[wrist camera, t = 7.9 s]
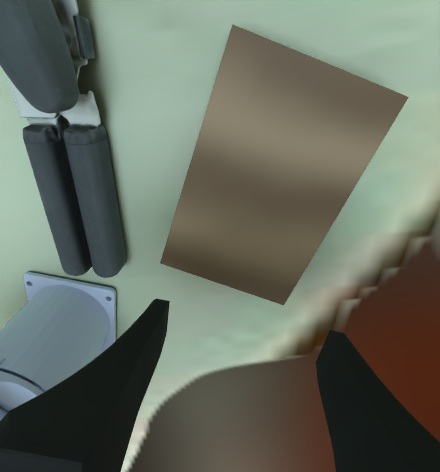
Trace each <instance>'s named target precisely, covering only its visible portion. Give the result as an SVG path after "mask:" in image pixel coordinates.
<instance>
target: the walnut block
mask: <svg viewBox="0 0 440 472" xmlns="http://www.w3.org/2000/svg"><path fill="white" fill-rule="evenodd" d="M407 99H408V97H407V96H405V95H402V94H400V93H397V92H395V91H393V90H390V89H388V88H385V87H383V86H380V85H378V84H376V83H373V82H371V81H368V80H366V79H363V78H361V77H359V76H356V75H354V74H351V73H349V72H346V71H344V70H342V69H339V68H337V67H334V66H332V65H329V64H327V63H325V62H322V61H320V60H317V59H315V58H312V57H310V56H307V55H305V54H303V53H300V52H298V51H295V50H293V49H290V48H288V47H286V46H283V45H281V44H278V43H276V42H273V41H271V40H269V39H266V38H264V37H261V36H259V35H256V34H254V33H252V32H249V31H247V30H244V29H242V28H239V27H237V26H235V25H232V28H231V31H230V34H229V38H228V41H227V44H226V48H225V51H224V54H223V58H222V61H221V64H220V67H219V71H218V74H217V77H216V81H215V84H214V87H213V90H212V94H211V97H210V100H209V104H208V107H207V110H206V114H205V117H204V120H203V123H202V127H201V130H200V133H199V137H198V140H197V143H196V147H195V150H194V153H193V156H192V160H191V163H190V166H189V170H188V173H187V176H186V180H185V183H184V186H183V189H182V193H181V196H180V199H179V203H178V206H177V209H176V213H175V216H174V219H173V222H172V226H171V229H170V232H169V236H168V239H167V242H166V245H165V249H164V252H163V255H162V259H161V262H160V263H161V264H164V265H167V266H170V267H173V268H176V269H179V270H182V271H185V272H188V273H191V274H194V275H197V276H199V277H202V278H205V279H208V280H211V281H214V282H217V283H220V284H223V285H226V286H229V287H232V288H235V289H238V290H241V291H243V292H246V293H249V294H252V295H255V296H258V297H261V298H264V299H267V300H270V301H273V302H276V303H279V304H282V305H284V304H285V302H286V301H287V299H288V297H289V296H290V294H291V292H292V291H293V289H294V287H295V286H296V284H297V282H298V281H299V279H300V277H301V276H302V274H303V272H304V271H305V269H306V267H307V266H308V264H309V262H310V261H311V259H312V257H313V256H314V254H315V252H316V251H317V249H318V247H319V246H320V244H321V242H322V241H323V239H324V237H325V236H326V234H327V232H328V231H329V229H330V227H331V226H332V224H333V222H334V221H335V219H336V217H337V216H338V214H339V212H340V211H341V209H342V207H343V206H344V204H345V202H346V201H347V199H348V197H349V196H350V194H351V192H352V191H353V189H354V187H355V186H356V184H357V182H358V181H359V179H360V177H361V176H362V174H363V172H364V171H365V169H366V167H367V166H368V164H369V162H370V161H371V159H372V157H373V156H374V154H375V152H376V151H377V149H378V147H379V146H380V144H381V142H382V141H383V139H384V137H385V136H386V134H387V132H388V131H389V129H390V127H391V126H392V124H393V122H394V121H395V119H396V117H397V116H398V114H399V112H400V111H401V109H402V107H403V106H404V104H405V102H406V101H407Z"/></svg>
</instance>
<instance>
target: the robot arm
mask: <svg viewBox="0 0 440 472" xmlns="http://www.w3.org/2000/svg"><path fill="white" fill-rule="evenodd" d="M23 279H24V284H25V290H26V295H27V301H28V303H27V304H26V305H25V306H24V307H23V308H22V309H21V310H20V311H19V312H18V313H17V314H16V315H15V316H14V317H13V318H12V319H11V320H10V321H9V322H8V323H7V324H6V325H5V326H4V327H3V328H2V330H1V331H0V472H121V468H122V465H123V461H124V458H125V454H126V451H127V448H128V444H129V441H130V437H131V434H132V431H133V427H134V424H135V421H136V417H137V414H138V411H139V409H140V406H141V403H142V401H143V398H144V396H145V393H146V391H147V388H148V386H149V383H150V381H151V378H152V376H153V373H154V371H155V368H156V366H157V363H158V360H159V358H160V355H161V352H162V348H163V344H164V341H165V337H166V332H167V322H168V312H169V302H170V301H166V300H160V299H155V300H153V302H152V303H151V304H150V305H149V307H148V308H147V309H146V310H145V311H144V313H143V314H142V315H141V316H140V317H139V318H138V319H137V320H136V321H135V322H134V323H133V324H132V326H131V327H130V328H129V329H128V330H127V331H126V332H125V333H124V334H123V335H121V336H120V337H119V338H118V339H117V340H116V292H115V290H114V289H113V288H110V287H106V286H100V285H95V284H90V283H85V282H79V281H74V280H69V279H64V278H59V277H53V276H48V275H43V274H38V273H33V272H27V273H26V274H25V275H24V276H23ZM109 297H110V298H109ZM316 367H317V377H318V386H319V390H320V395H321V399H322V404H323V408H324V412H325V416H326V420H327V425H328V428H329V433H330V437H331V442H332V447H333V453H334V460H335V467H336V472H440V442H439V441H438V440H437V439H436V438H435V437H433V435H431V434H430V433H429V432H428V431H427V430H426V429H425V428H424V427H423V426H422V425H421V424H420V423H419V422H418V421H417V420H416V419H415V418H414V417H413V416H412V415H411V414H410V413H409V412H408V411H407V410H406V409H405V408H404V407H403V406H402V404H400V402H399V401H398V400H397V399H396V398H395V397H394V396H393V395H392V393H391V392H390V391H389V390H388V389H387V388H386V386H385V385H384V384H383V383H382V382H381V380H380V379H379V378H378V377H377V376H376V374H375V373H374V372H373V371H372V369H371V368H370V367H369V365H368V364H367V363H366V362H365V360H364V359H363V358H362V356H361V355H360V354H359V352H358V351H357V350H356V348H355V347H354V346H353V344H352V343H351V342H350V340H349V339H348V338H347V337H346V335H345V334H344V333H341V332H335V331H330V332H329V334H328V336H327V339H326V341H325V343H324V345H323V347H322V350H321V352H320V354H319V356H318V358H317V361H316Z"/></svg>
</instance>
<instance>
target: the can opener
mask: <svg viewBox="0 0 440 472" xmlns="http://www.w3.org/2000/svg"><path fill="white" fill-rule="evenodd" d="M78 12H79V11H78V6H77V0H0V65H1V67H2V68H3V70H4V71H5V73H6V74H7V76H8V79H9V83H10V86H11V89H12V93H13V96H14V99H15V103H16V106H17V109H18V113H19V116H20V117H24V118H27V121H28V122H29V123H30V124H31V125H29V126H27V127H25V128H23V139H24V142H25V146H26V149H27V152H28V155H29V159H30V162H31V166H32V169H33V172H34V176H35V179H36V182H37V186H38V189H39V192H40V196H41V199H42V202H43V206H44V209H45V212H46V215H47V219H48V222H49V225H50V228H51V232H52V235H53V238H54V242H55V245H56V248H57V251H58V255H59V258H60V262H61V265H62V268H63V270H64V271H65V273H67V274H69V275H73V276H78V275H82V274H85V273H86V272H87V271H88V270H89V269H90V268H91V267H92V266H93V269H94V272H95V273H96V274H97V275H98V276H100V277H106V278H107V277H112V276H115V275H116V274H118V272H119V271H120V270H121V268H122V267H123V266H124V264H125V262H126V251H125V245H124V239H123V233H122V227H121V221H120V214H119V208H118V202H117V195H116V189H115V183H114V177H113V171H112V164H111V158H110V152H109V146H108V140H107V134H106V131H105V128H104V126H103V125H100V123H101V120H100V115H99V111H98V108H97V105H96V101H95V97H94V94H93V92H92V91H88V94H87V95H85V94H81V93H80V92H79V89H78V83H77V80H78V75H79V70H80V67H81V66H83V65H86V64H87V62H88V61H87V60H88V59H91V58H93V59H94V58H95V52H94V46H93V41H92V36H91V30H90V25H89V20H88V19H87V18H85V17H83V16H81V15H80V14H78ZM61 115H62V116H63V117H65V118H66V119H67V120H68V121H69V123H70V127H68V128H67V127H66V125H65V124H63V123H61V122H59V121H58V118H59V117H60V116H61Z"/></svg>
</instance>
